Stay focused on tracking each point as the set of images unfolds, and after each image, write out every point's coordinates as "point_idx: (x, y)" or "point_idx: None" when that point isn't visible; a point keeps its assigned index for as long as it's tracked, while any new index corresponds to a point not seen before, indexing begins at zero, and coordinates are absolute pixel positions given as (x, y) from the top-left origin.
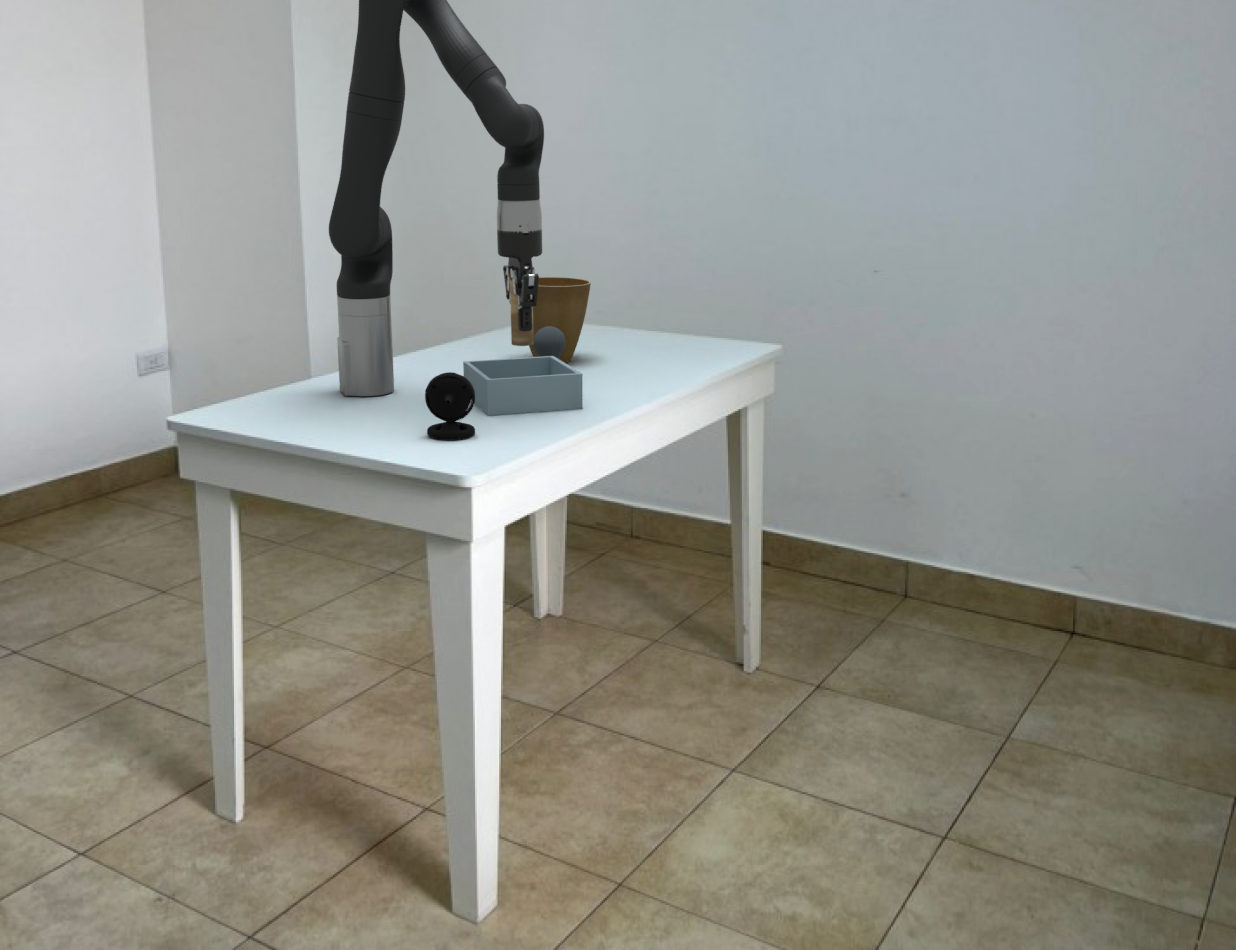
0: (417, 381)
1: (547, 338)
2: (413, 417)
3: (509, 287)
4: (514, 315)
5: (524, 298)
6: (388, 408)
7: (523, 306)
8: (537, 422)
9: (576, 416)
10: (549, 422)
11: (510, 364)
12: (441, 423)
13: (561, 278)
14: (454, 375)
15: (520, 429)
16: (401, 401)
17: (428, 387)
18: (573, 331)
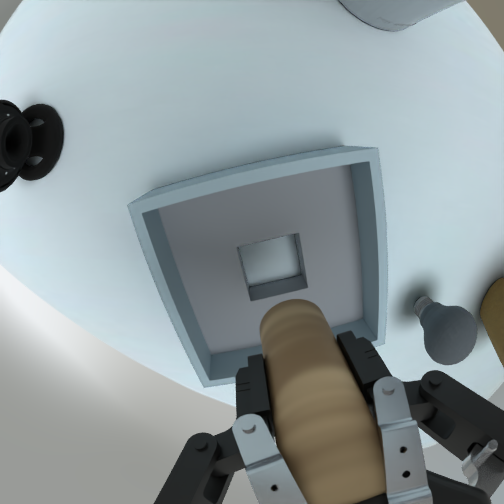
0: (445, 85)
1: (441, 343)
2: (151, 52)
3: (383, 449)
4: (284, 376)
5: (175, 470)
6: (234, 5)
7: (192, 439)
8: (110, 275)
9: (154, 333)
10: (112, 293)
11: (373, 260)
12: (46, 121)
13: None
14: None
15: (68, 247)
16: (295, 26)
17: None
18: (495, 349)
